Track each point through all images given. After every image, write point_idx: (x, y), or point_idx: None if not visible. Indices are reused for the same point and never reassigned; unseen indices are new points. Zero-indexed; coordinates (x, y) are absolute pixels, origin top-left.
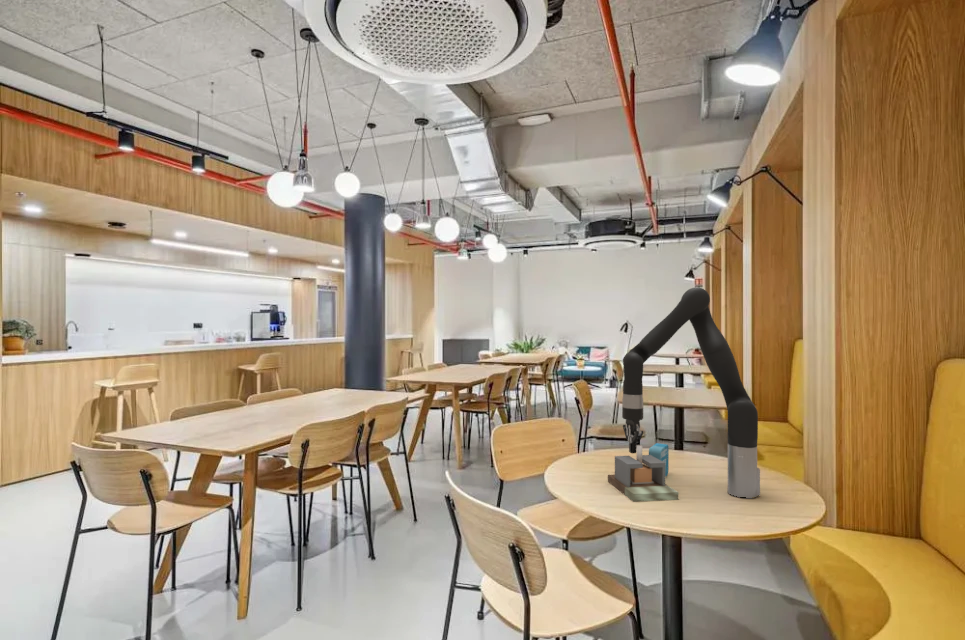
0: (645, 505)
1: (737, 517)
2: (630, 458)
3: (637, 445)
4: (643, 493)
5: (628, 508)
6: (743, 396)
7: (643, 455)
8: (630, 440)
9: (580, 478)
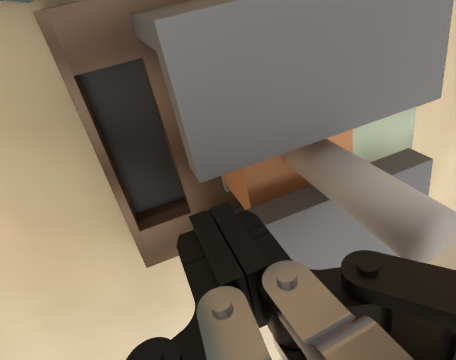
0: (424, 115)
1: None
2: (303, 231)
3: (425, 256)
4: (411, 124)
5: (433, 174)
6: None
7: (194, 114)
8: (300, 353)
9: (120, 345)
